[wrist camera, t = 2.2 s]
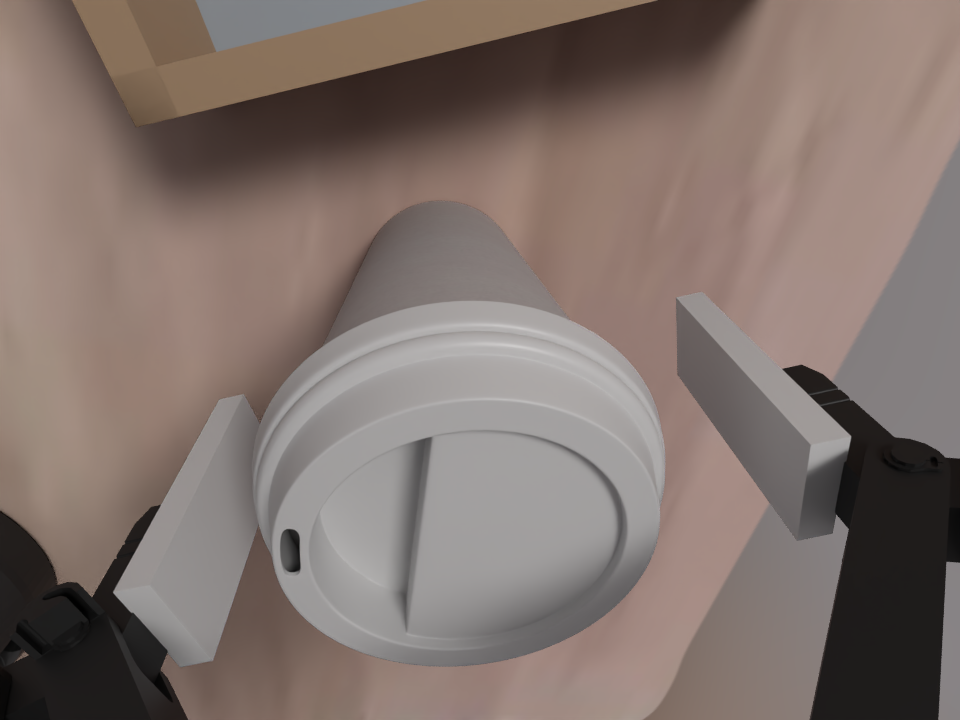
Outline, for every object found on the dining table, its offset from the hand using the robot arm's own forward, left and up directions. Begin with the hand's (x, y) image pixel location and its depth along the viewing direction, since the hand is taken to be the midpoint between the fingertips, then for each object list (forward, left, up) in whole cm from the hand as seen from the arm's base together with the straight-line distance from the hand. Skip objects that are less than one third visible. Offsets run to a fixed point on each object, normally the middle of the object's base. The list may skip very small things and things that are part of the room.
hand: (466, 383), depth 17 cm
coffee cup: (0, 0, -9) cm, 9 cm away
